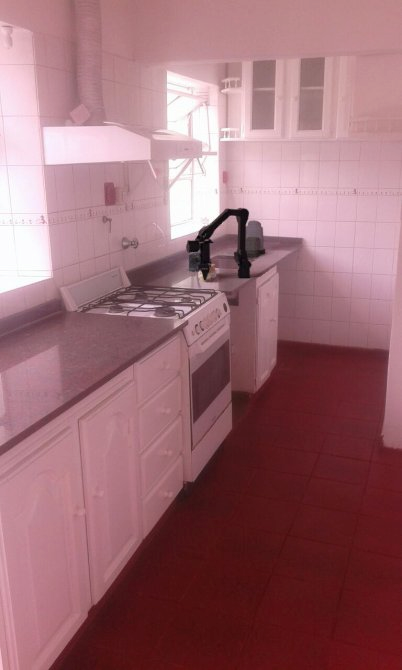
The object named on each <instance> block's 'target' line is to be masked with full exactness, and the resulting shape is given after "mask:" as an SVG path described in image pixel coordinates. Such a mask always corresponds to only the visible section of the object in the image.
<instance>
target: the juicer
mask: <svg viewBox="0 0 402 670" xmlns="http://www.w3.org/2000/svg"><path fill="white" fill-rule="evenodd" d="M264 239H265V238H264V228H263V227H262V223H261V222H260V221H259V220H255V219H254V220H249V221H247V225H246V247H245V249H246V252H247V256H248V259H258V258H259V257H261V255H265V254H266V248H264V245H265V243H264Z"/></svg>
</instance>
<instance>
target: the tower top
mask: <svg viewBox="0 0 402 670" xmlns="http://www.w3.org/2000/svg"><path fill="white" fill-rule="evenodd" d="M215 270H216V264H215V263H212V264H211V268H210V271H209V272H214V271H215ZM200 272H201V271H200Z"/></svg>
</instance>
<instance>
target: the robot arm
mask: <svg viewBox="0 0 402 670" xmlns="http://www.w3.org/2000/svg"><path fill="white" fill-rule="evenodd" d="M231 216H232V217H235V218H236V223H237V249H236V251H233V259H234V262H235V263H236V264H237V267H238V269H237V277H238V278H239V279H250V278H251V268H252V267H253V263H251V261H249V258H248V256H247V252H246V249H245V247H246V226H247V224H248V222H249V221H248V220H249V217H250V211H249V210H248V208H246V207H245V208H244V207H238V208H225V209H224V210H223V211H222V212H221V213H220V214H219V215H217V217H216V218H215V219H213V221H211V223H209V224H207V225H205V226H203V227H202V228H200V229H199V230H198V232H197V233H198V234H197V236H196V237H195V239H194V240H190V239H188V240H187V243H186V245H185V248H186V252H187V253H189V254H192V253H198V252H200V254H199V256H197V257H193V258H191V259H190V262H191V264H192V265H194V264H195V263H198V262H199V263H200V264H199V265H198V269H199V270H200V271H201V272H202V275H203V279H204V280H206V278H207V275H208V273H209V271H210V268H211V264H213V261H212V259H211V244H214V241H213V240H212V239H211V237H212V236H213V235H214V233H215V231H216V230H217V229H218V228H219V227H220V226H221V225H222V224H223V223H224V222H225V221H227V219H228V218H229V217H231Z"/></svg>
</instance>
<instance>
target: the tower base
mask: <svg viewBox="0 0 402 670" xmlns="http://www.w3.org/2000/svg"><path fill="white" fill-rule="evenodd" d="M217 271H218V270H217V269H215V271H214V272H209V273H210V274H211V279H214V278H215V279H216V277H217V274H218V273H217ZM197 273H198V277H197V278H199V279H200V274H202V272H200V271H197Z"/></svg>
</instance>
